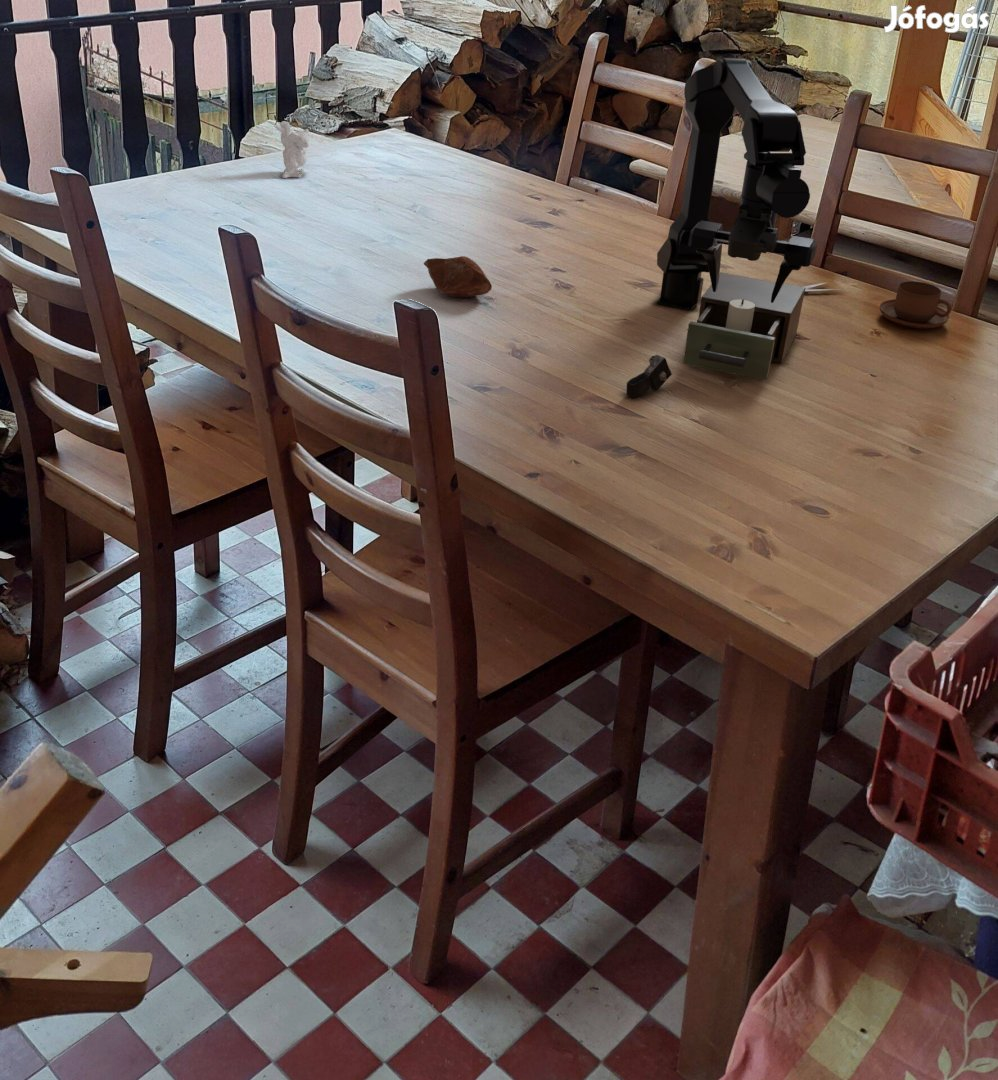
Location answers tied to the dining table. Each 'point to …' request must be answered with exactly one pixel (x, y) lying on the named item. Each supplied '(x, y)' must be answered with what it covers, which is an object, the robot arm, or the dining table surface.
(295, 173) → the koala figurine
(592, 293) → the dining table surface
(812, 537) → the dining table surface
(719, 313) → the drawer
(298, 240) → the dining table surface
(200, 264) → the dining table surface
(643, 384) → the padlock
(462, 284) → the brown rock
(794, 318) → the cabinet
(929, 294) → the cup and saucer
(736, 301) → the candle
